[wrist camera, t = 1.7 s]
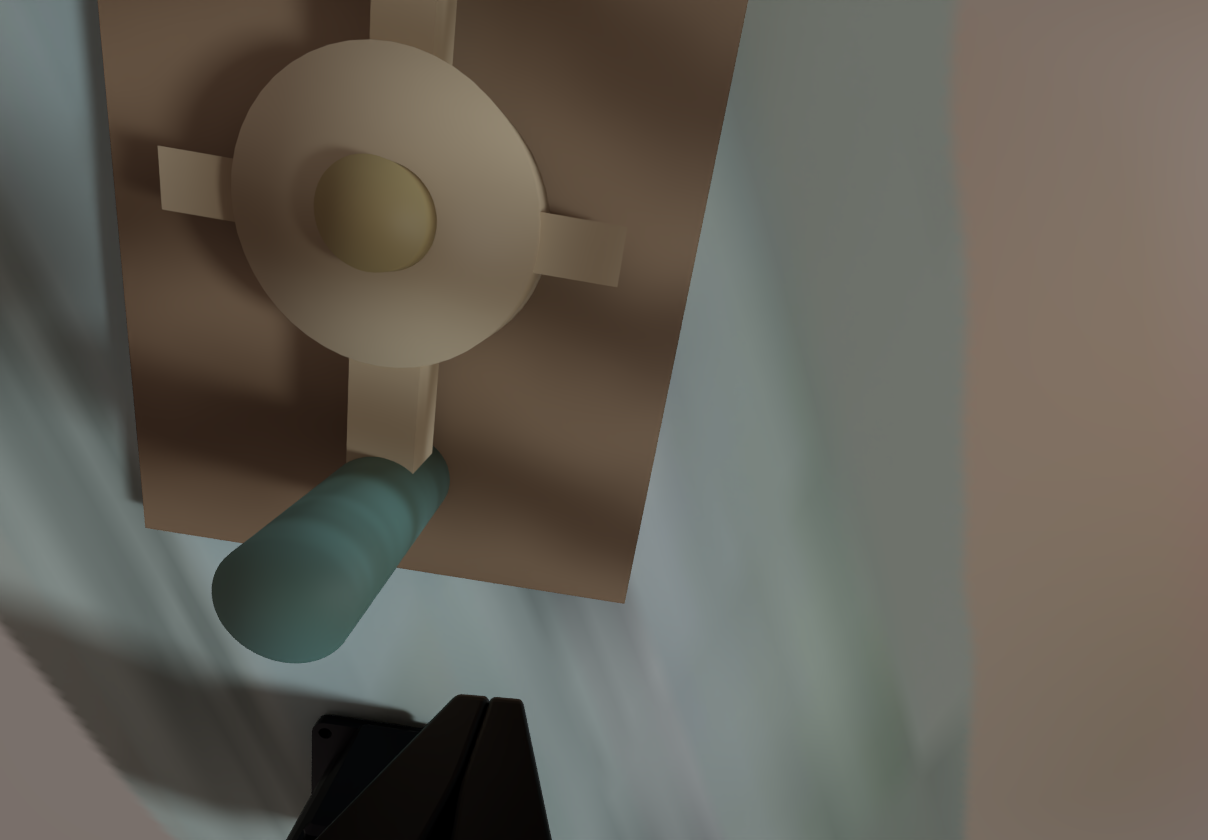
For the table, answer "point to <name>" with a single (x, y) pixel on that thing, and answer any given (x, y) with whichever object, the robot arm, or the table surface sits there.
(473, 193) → the capstan
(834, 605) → the table surface
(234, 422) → the stand
